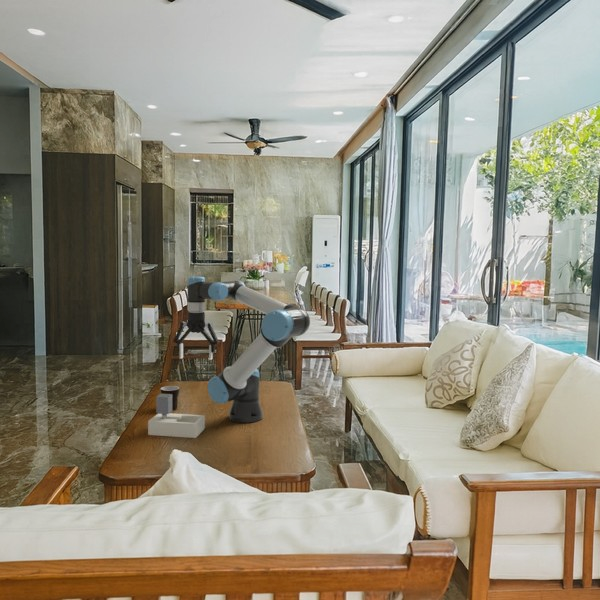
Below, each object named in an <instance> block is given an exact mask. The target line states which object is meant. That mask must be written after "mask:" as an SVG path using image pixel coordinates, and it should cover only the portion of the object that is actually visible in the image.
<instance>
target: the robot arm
mask: <svg viewBox="0 0 600 600" xmlns="http://www.w3.org/2000/svg"><path fill="white" fill-rule="evenodd" d="M186 287H187V311H188V312H187V321H186V322H185V321H182V322H180V325H179V328H178V331H177V333H176V334H175V337H174V338H173V340H172V342H173V343H175V344H177V351H178V352H179V360H182V359H184V343H183V341H184V340H185V339H186V338H187V337H188V336H189V334H190V333H196V334H199V333H200V334H202V336H204V338H205V340H207V342H208V343H209V346H208V351H209V352H208V355H209V356H208V361H212V360H213V357H214V355H213V354H214V353H215V352H216V349H215V348H216V345H218V344H219V343H220V341H219V338H218V337H217V335H216V332H215V331H214V329H213V328H214V327H213V323H212V322H208V323H206V313H205V308H206V300H212V301H216V302H217V301H224V300H227V299H232V300H234V301H237V302H239V303H242V304H243V305H245V306H246V307H247V306H248V307H249V308H252V309H253V310H256V311H258V312H260V313H263V314H265V315H264V316H263V318H262V321H261V326H260V329H259V332H260V333H259V335H258V336H257V337H256V338H255V339H253V341H252V342H251V344H250V345H249V346H248V347H247V348H246V349H245V350H244V351H243V353H241V355H240V356H239V357H238V358H237V359H236V360H235V362H234V363H233V364H232V365H230V366H226V367H225V368H224V369H223V370H222V371H221V372H220V374H218V375H217V376H216V375H215V376H212V377H211V378H210V379H209V380H208V382H207V393H208V395H209V397H210V399H211V400H212V401H213V402H214V403H216V404H219V405H220V404H226V403H228V402H229V403H230V402H232V403H231V407H230V409H229V412H228V419H229V420H230V421H232V422H235V423H243V424H244V423H245V424H246V423H254V422H259V421H261V420H263V417H264V416H263V409H262V407H261V404H260V378H261V377H260V371H259V369H258V368H259V367H261V365H262V364H263V363H264V362H265V361H266V360H267V358H268V357H270V355H271V354H272V353H273V352H274V351H275V350H276V349H277V348H278V349H280V348H282V347H284V346H285V345H286V343H287V342H288V341H289V340H290V339H292V338H295V337H299V336H302V335H304V334H305V333H306V332H307V331H308V329H309V328H310V326H311V325H310V324H311V318H310V315H309V313H308V312H307V311H306V310H305V309H304V308H302V307H300V306H297V305H295V304H294V303H285V302H283V301H280V300H278V299H276V298H273V297H271V296H268V295H266V294H264V293H262V292H259V291H257V290H255V289H252V288H250V287H248V286H246V285H245V283H244V282H243V281H240V280H231V281H228V280H227V281H215V282H214V281H206V278H205V277H204V276H189V277H188V278H187V286H186ZM186 327H187V330H185V332H184V334H183V333H182V332H183V330H184V329H185V328H186ZM205 328H207V329H208V331H209V333H210V335H209V333H208V332H207V330H206V329H205ZM182 334H183V335H182ZM181 335H182V336H181Z"/></svg>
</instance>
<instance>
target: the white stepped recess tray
mask: <svg viewBox="0 0 600 600" xmlns="http://www.w3.org/2000/svg"><path fill="white" fill-rule="evenodd" d="M205 426H206V415H204V414H203V415H202V414H188V413H187V414H186V413H172V412H170V413H169V414H167V419H162V414H157V413H156V415H154V416H153V417H151V418H150V419H149V420H148V421H147V430H148V431H147V435H148V436H161V437H175V438H190V439H197V437H198V436H199V435H201V433H202V432H203V431H204V430H205V429H206V427H205Z"/></svg>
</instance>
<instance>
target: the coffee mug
mask: <svg viewBox="0 0 600 600" xmlns="http://www.w3.org/2000/svg"><path fill="white" fill-rule="evenodd" d="M160 394H172V411H171V412H174V411H177V409H178V403H179V395H180V387H179V386H178V385H177V386H176V385H166V386H162V387H160Z"/></svg>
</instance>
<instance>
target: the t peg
mask: <svg viewBox="0 0 600 600" xmlns="http://www.w3.org/2000/svg"><path fill="white" fill-rule="evenodd" d="M155 400H156V402H155V405H156V407H155V408H156V409H155V411H156V415H157V414H162V419H167V414H169V413H172V412H173V411H172V394H161V393H159V394H158V395H157V396H156V399H155Z"/></svg>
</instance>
